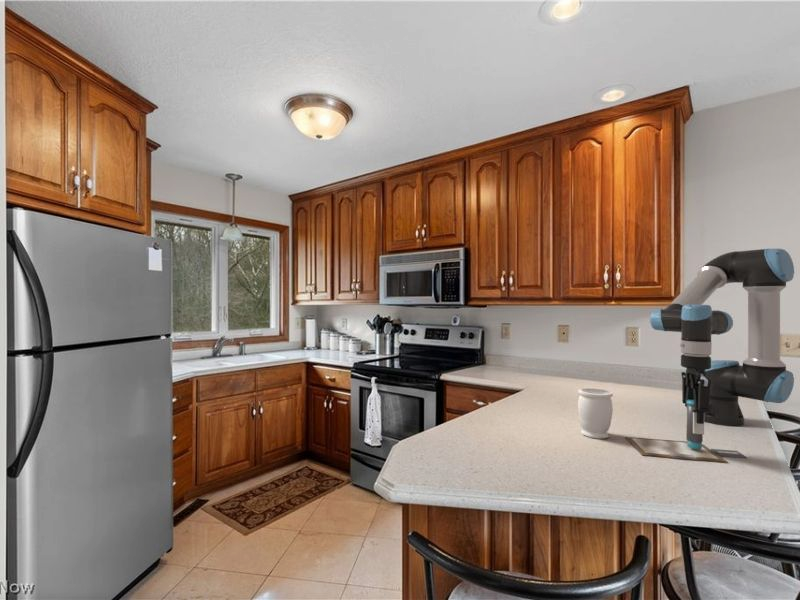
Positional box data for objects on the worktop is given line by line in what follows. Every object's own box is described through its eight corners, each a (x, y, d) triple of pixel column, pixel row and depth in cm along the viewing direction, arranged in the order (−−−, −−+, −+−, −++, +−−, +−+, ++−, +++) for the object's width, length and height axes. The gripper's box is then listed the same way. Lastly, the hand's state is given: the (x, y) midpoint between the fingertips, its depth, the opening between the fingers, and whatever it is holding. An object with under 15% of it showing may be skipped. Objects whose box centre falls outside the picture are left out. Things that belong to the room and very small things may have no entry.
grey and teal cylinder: (698, 445, 128) (699, 400, 127) (705, 449, 123) (706, 403, 123) (683, 443, 128) (684, 399, 128) (689, 448, 124) (690, 402, 124)
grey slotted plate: (737, 452, 126) (737, 450, 126) (746, 458, 121) (746, 456, 121) (710, 450, 127) (710, 448, 127) (719, 456, 122) (719, 454, 122)
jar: (576, 436, 138) (577, 392, 138) (578, 428, 147) (579, 386, 147) (612, 442, 133) (612, 396, 133) (612, 433, 142) (612, 390, 142)
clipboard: (700, 443, 133) (700, 441, 133) (728, 463, 117) (728, 460, 117) (625, 437, 138) (625, 435, 138) (642, 455, 122) (642, 453, 122)
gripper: (670, 350, 135) (669, 422, 135) (695, 358, 118) (694, 439, 118) (696, 351, 133) (695, 423, 133) (725, 359, 117) (723, 441, 117)
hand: (694, 431), depth 126 cm, fingers closed on grey and teal cylinder, 4 cm apart
